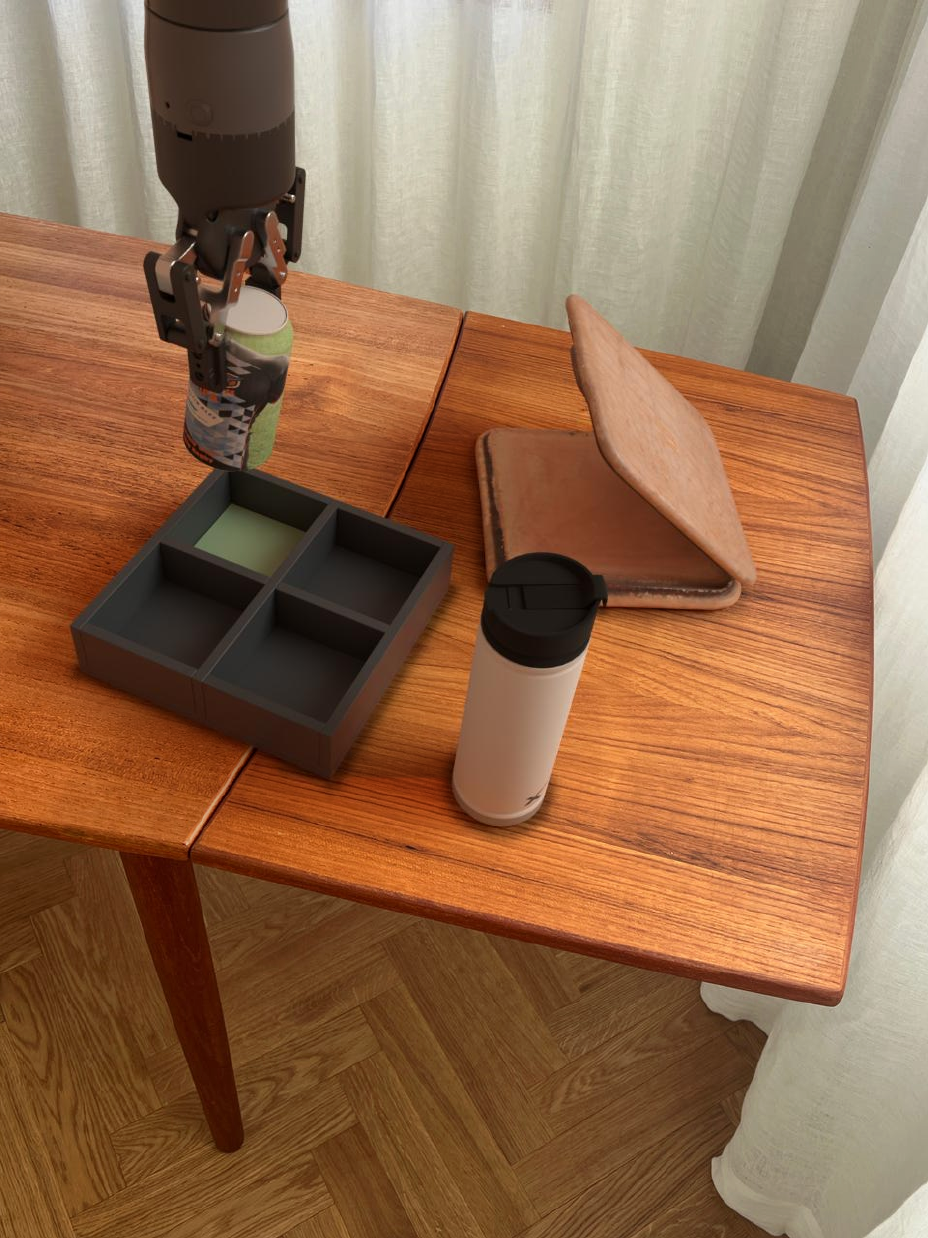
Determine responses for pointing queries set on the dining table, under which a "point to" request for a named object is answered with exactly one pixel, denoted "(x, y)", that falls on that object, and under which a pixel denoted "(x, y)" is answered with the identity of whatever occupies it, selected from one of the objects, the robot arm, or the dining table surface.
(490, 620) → the travel mug
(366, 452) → the dining table surface
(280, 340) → the beverage can
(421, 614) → the four compartment organizer
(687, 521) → the case
